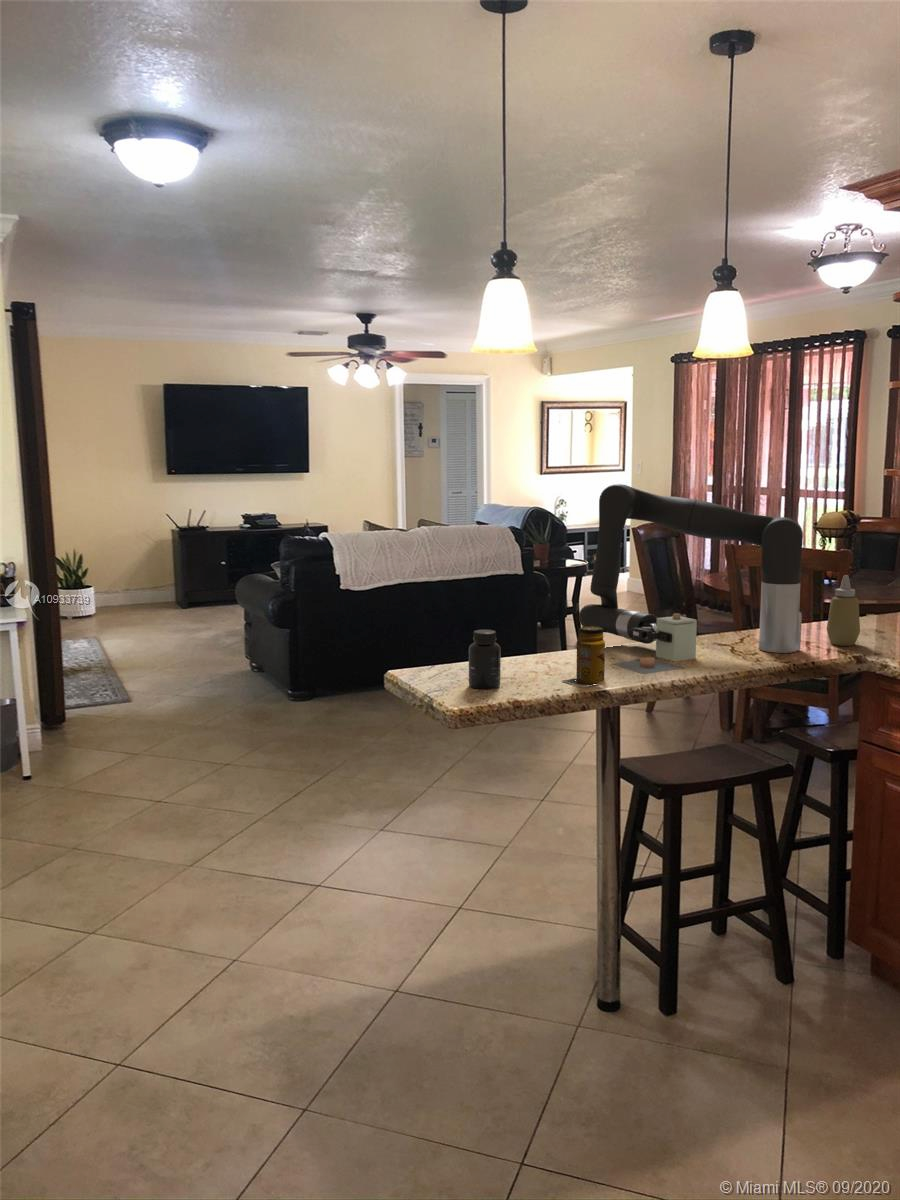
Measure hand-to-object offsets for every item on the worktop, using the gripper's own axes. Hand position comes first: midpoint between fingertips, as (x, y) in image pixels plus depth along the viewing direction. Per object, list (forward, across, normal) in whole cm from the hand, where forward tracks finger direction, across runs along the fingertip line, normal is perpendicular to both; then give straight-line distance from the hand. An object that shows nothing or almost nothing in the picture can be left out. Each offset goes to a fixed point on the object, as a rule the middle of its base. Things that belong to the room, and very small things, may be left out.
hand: (682, 636), depth 215 cm
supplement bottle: (-2, -53, +6) cm, 53 cm away
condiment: (+6, -32, +6) cm, 33 cm away
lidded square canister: (-2, 0, +6) cm, 6 cm away
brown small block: (+2, -12, +5) cm, 13 cm away
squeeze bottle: (+5, +50, +6) cm, 51 cm away
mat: (+2, -12, +6) cm, 14 cm away
